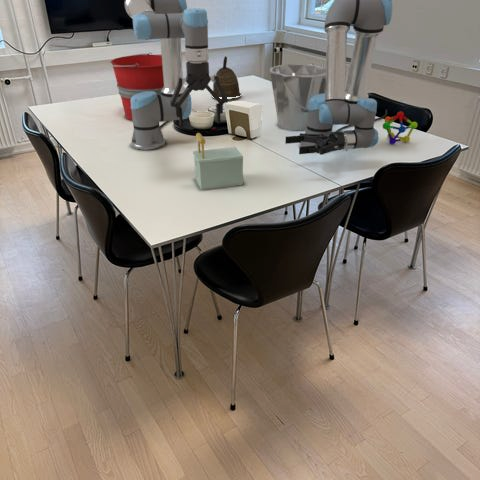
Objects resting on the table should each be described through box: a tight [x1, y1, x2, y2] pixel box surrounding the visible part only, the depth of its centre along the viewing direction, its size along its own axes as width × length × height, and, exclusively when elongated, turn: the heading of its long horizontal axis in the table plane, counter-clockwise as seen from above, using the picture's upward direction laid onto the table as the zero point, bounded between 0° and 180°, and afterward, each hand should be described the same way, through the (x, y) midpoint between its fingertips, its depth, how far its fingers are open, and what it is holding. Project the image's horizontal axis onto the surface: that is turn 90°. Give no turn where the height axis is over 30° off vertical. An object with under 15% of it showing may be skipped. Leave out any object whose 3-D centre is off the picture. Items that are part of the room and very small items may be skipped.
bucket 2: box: [269, 63, 326, 131], centre depth 226 cm, size 30×30×28 cm
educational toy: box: [382, 110, 418, 145], centre depth 207 cm, size 16×13×15 cm
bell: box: [212, 56, 242, 97], centre depth 278 cm, size 19×26×20 cm
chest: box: [193, 155, 244, 191], centre depth 169 cm, size 16×10×11 cm, turn 107°
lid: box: [192, 132, 244, 163], centre depth 164 cm, size 17×10×8 cm, turn 107°
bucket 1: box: [107, 51, 164, 122], centre depth 239 cm, size 35×35×30 cm
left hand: (200, 124), depth 158 cm, fingers open, 13 cm apart
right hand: (292, 145), depth 173 cm, fingers open, 13 cm apart
